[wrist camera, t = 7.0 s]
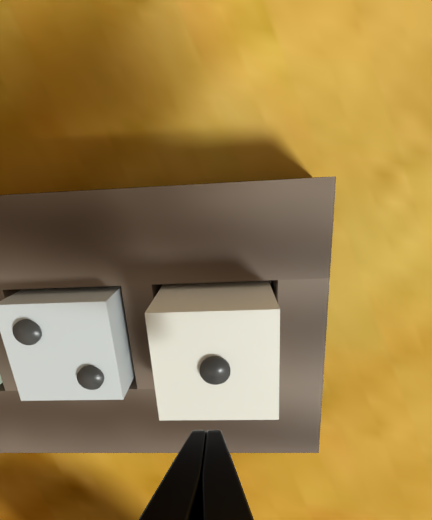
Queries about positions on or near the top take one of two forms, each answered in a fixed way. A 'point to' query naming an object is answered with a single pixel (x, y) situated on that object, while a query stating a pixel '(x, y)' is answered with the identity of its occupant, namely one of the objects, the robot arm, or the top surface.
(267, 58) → the top surface
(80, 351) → the tile two
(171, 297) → the tile one
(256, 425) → the grey tray with tiles
